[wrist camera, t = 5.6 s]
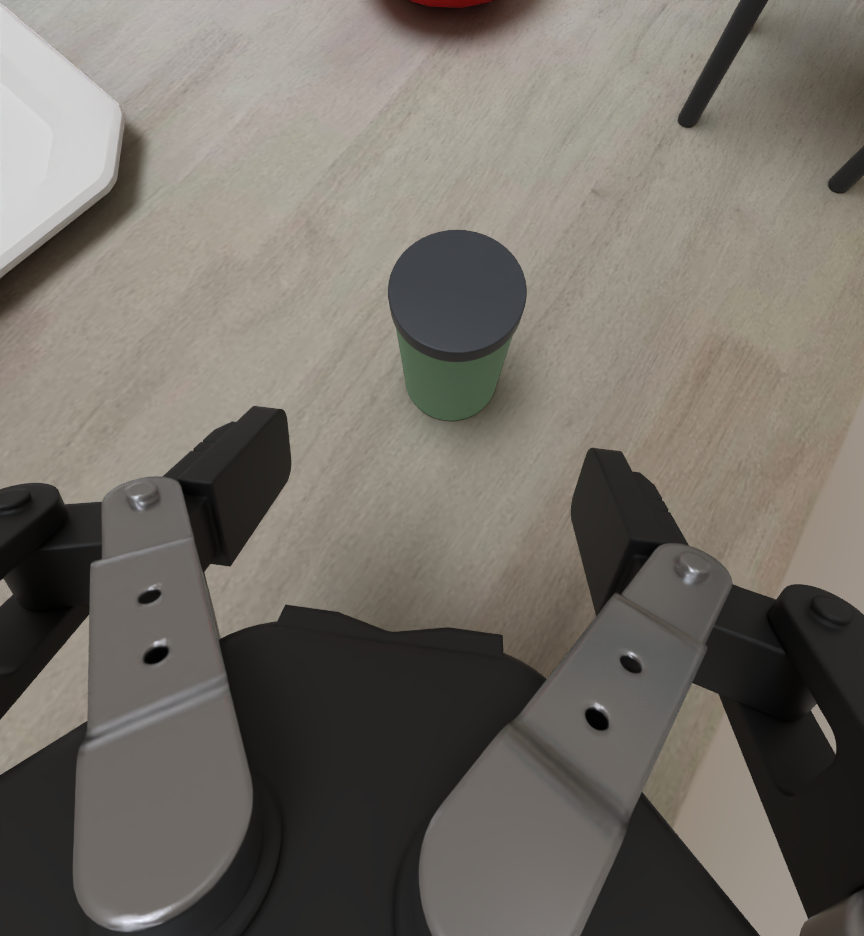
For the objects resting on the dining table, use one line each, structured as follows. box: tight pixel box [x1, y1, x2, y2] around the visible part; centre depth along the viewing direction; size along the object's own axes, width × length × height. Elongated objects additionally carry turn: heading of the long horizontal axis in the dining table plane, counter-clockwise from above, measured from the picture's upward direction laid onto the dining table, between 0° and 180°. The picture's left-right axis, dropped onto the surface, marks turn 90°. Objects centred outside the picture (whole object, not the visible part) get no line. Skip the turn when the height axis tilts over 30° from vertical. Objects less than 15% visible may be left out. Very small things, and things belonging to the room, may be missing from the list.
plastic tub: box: [388, 230, 527, 421], centre depth 21 cm, size 5×5×8 cm
